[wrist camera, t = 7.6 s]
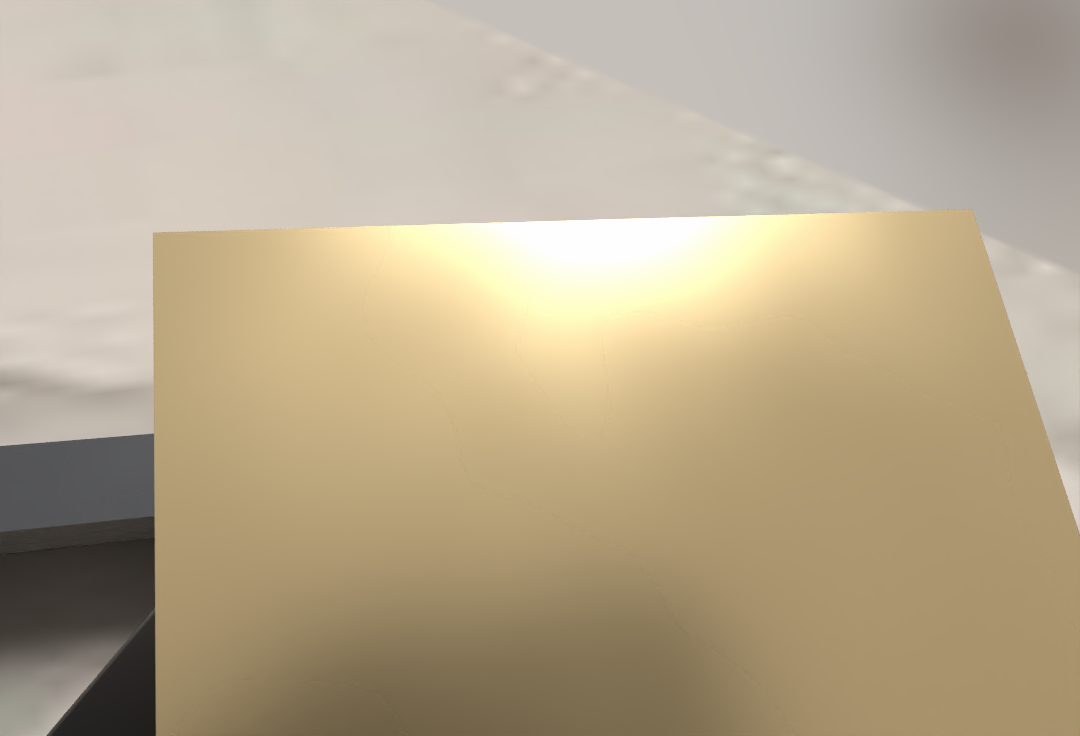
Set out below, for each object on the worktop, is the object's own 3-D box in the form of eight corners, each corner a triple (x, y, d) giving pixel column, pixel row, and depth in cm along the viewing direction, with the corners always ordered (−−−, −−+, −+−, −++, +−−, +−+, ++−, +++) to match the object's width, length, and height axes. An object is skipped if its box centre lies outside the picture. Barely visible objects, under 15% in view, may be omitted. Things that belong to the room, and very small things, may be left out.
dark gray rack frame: (644, 855, 17) (690, 886, 15) (-234, 1050, 14) (-355, 1132, 11) (576, 426, 20) (606, 397, 17) (-175, 494, 16) (-262, 467, 14)
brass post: (581, 776, 15) (1277, 1131, 4) (315, 828, 14) (160, 1553, 3) (543, 520, 16) (974, 209, 5) (299, 548, 15) (153, 232, 4)
